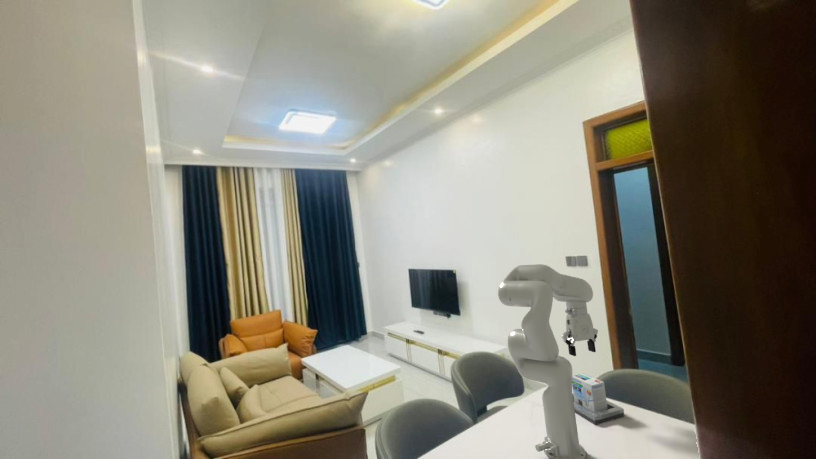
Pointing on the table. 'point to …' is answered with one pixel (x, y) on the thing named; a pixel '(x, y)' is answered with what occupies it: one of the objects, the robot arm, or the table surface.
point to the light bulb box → (589, 393)
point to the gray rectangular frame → (599, 413)
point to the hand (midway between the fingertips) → (582, 353)
